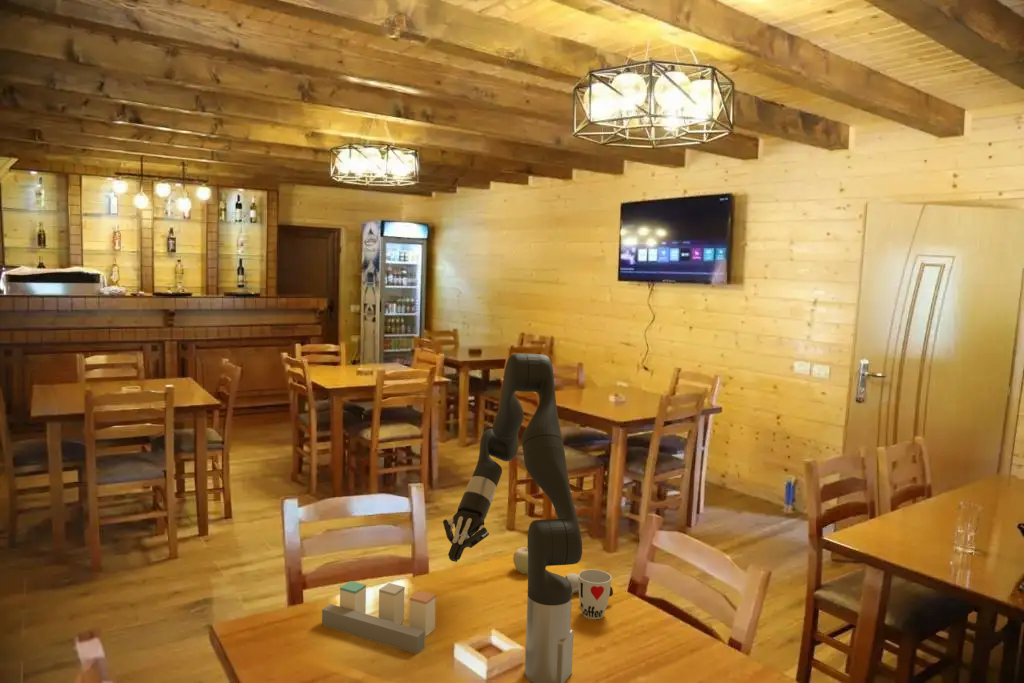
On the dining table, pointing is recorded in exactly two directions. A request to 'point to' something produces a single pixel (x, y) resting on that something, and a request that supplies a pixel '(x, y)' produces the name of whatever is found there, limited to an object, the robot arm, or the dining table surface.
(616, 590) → the dining table surface
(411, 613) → the beige and orange block
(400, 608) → the beige tall block
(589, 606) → the cup
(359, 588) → the beige and green block
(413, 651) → the grey base
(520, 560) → the fruit
